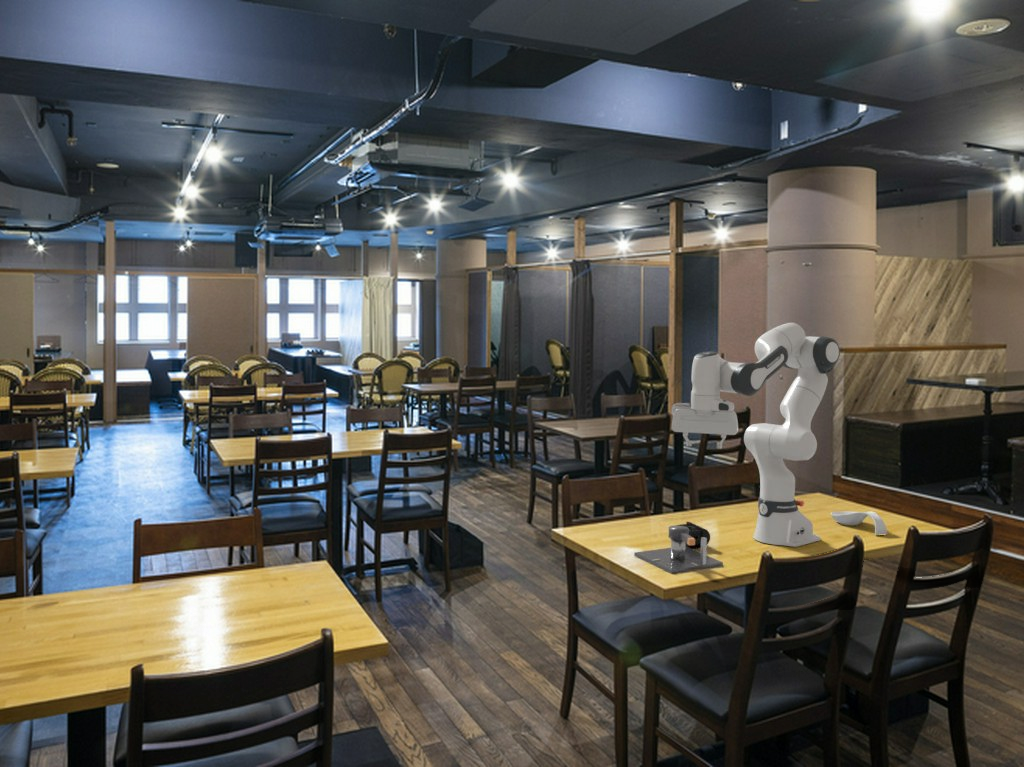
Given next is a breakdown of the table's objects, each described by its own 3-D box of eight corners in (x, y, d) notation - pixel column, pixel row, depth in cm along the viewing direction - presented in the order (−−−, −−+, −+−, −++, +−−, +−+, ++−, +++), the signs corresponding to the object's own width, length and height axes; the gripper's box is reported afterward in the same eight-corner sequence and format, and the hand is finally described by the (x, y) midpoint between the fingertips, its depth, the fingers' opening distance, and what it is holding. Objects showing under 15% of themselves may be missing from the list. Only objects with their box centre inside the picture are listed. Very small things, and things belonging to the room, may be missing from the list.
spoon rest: (823, 520, 298) (824, 501, 297) (850, 519, 301) (850, 500, 301) (868, 537, 275) (869, 517, 275) (896, 535, 279) (897, 515, 278)
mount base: (683, 548, 258) (684, 521, 258) (722, 565, 241) (723, 536, 240) (634, 555, 250) (635, 527, 249) (671, 573, 233) (672, 543, 232)
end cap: (710, 548, 259) (710, 528, 259) (691, 550, 257) (691, 529, 257) (693, 540, 269) (694, 520, 268) (675, 542, 267) (675, 522, 266)
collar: (665, 535, 248) (665, 525, 247) (683, 534, 249) (684, 525, 248) (682, 547, 234) (682, 537, 234) (701, 546, 235) (702, 536, 235)
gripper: (670, 403, 251) (669, 447, 252) (737, 406, 244) (736, 451, 245) (673, 401, 257) (672, 444, 258) (739, 404, 250) (738, 447, 251)
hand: (704, 447), depth 252 cm, fingers open, 8 cm apart
